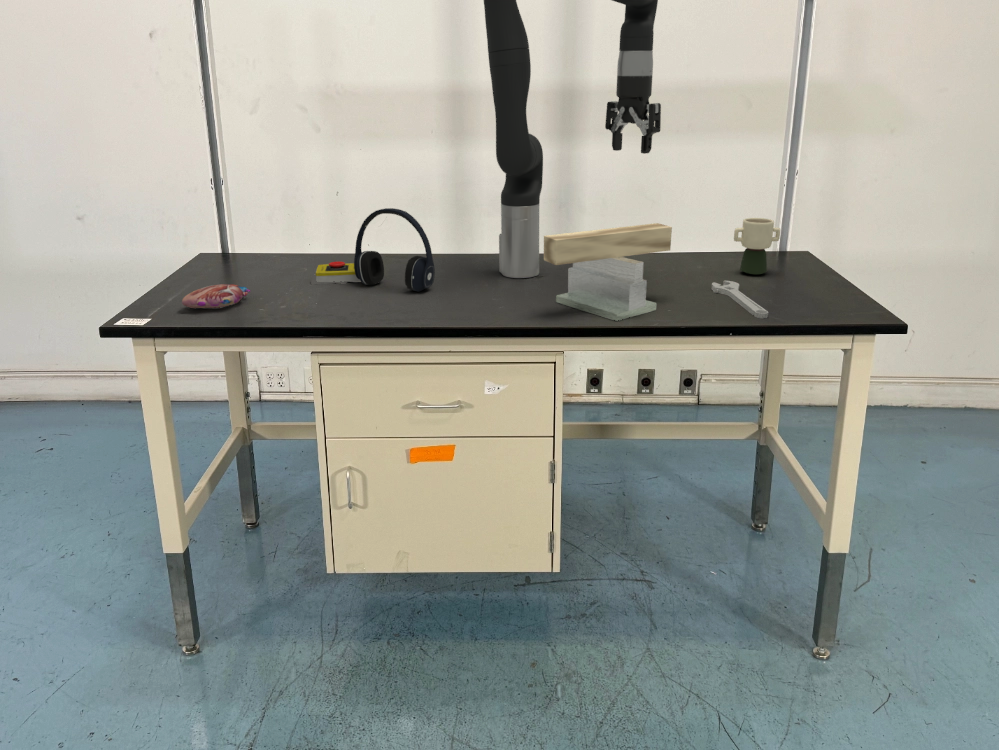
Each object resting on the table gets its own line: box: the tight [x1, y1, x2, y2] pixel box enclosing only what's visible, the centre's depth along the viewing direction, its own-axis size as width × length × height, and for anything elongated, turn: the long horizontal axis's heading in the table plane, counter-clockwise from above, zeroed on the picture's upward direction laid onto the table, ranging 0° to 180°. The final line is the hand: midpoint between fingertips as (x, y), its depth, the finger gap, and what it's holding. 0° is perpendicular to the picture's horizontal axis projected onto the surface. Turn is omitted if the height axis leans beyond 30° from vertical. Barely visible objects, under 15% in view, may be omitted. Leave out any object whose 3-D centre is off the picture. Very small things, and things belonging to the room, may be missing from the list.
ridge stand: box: [555, 256, 657, 322], centre depth 169 cm, size 18×12×11 cm, turn 39°
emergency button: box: [315, 261, 360, 282], centre depth 195 cm, size 9×4×15 cm
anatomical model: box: [181, 283, 251, 309], centre depth 175 cm, size 11×6×15 cm
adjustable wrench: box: [711, 280, 769, 319], centre depth 174 cm, size 25×6×2 cm, turn 1°
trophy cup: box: [733, 217, 781, 275], centre depth 193 cm, size 11×7×13 cm, turn 89°
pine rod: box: [543, 222, 673, 266], centre depth 166 cm, size 5×28×5 cm, turn 116°
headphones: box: [353, 207, 436, 292], centre depth 184 cm, size 20×7×18 cm, turn 63°
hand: (630, 151), depth 178 cm, fingers open, 8 cm apart
